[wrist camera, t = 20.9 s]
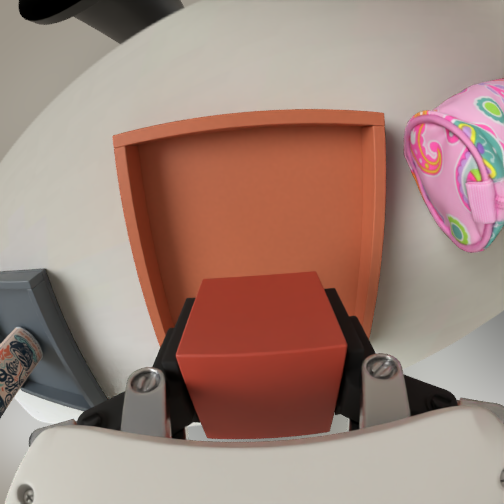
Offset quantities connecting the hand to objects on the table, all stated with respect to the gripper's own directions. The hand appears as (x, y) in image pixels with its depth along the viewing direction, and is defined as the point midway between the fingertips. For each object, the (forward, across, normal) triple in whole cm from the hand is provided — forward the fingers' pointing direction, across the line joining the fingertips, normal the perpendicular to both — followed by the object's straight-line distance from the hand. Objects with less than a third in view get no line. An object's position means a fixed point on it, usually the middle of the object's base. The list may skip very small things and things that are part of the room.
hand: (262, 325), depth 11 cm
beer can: (+8, +27, +9) cm, 30 cm away
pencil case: (+8, -20, -9) cm, 23 cm away
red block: (0, 0, 0) cm, 0 cm away
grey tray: (+8, +27, +9) cm, 30 cm away
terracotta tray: (+8, 0, 0) cm, 8 cm away
